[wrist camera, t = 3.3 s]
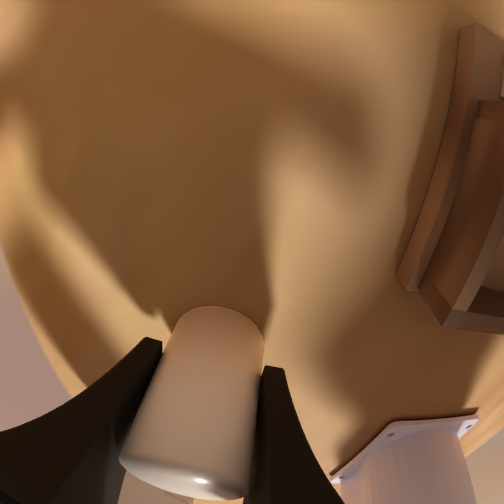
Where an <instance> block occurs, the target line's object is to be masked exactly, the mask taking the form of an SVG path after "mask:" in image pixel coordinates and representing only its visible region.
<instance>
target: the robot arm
mask: <svg viewBox="0 0 504 504" xmlns="http://www.w3.org/2000/svg"><path fill="white" fill-rule="evenodd" d="M161 356H162V341H159V340H155V339H152V338H149V337H145V338H143V339H142V340H141V341H140V342H139V343H138V344H137V345H136V346H135V347H134V348H133V349H132V350H131V351H130V352H129V353H128V354H127V355H126V356H125V357H124V358H123V359H122V360H121V361H119V362H118V363H117V364H116V365H115V366H114V367H113V368H111V369H110V370H109V371H108V372H107V373H106V374H105V375H103V376H102V377H101V378H100V379H98V380H97V381H96V382H94V383H93V384H92V385H91V386H89V387H88V388H87V389H85V390H84V391H83V392H81V393H80V394H78V395H77V396H75V397H74V398H72V399H71V400H69V401H68V402H66V403H64V404H63V405H61V406H59V407H57V408H56V409H54V410H52V411H50V412H48V413H47V414H45V415H43V416H41V417H39V418H36V419H34V420H32V421H29V422H27V423H24V424H22V425H20V426H17V427H14V428H11V429H8V430H5V431H1V432H0V504H118V500H119V496H120V491H121V488H122V484H123V480H124V477H125V473H126V469H125V468H124V467H123V466H122V465H121V463H120V462H119V455H120V452H121V450H122V447H123V445H124V443H125V440H126V438H127V435H128V433H129V430H130V428H131V425H132V423H133V421H134V418H135V416H136V414H137V411H138V409H139V406H140V404H141V402H142V399H143V397H144V395H145V392H146V390H147V388H148V386H149V383H150V381H151V379H152V376H153V374H154V372H155V370H156V367H157V365H158V363H159V361H160V358H161ZM478 420H479V417H478V415H468V416H461V417H452V418H443V419H431V420H415V421H396V422H393V423H391V424H389V425H388V426H387V427H386V428H385V429H384V430H383V431H382V432H381V433H380V434H379V435H378V436H377V437H376V438H375V439H374V440H373V441H372V442H371V443H370V444H369V445H368V446H367V447H366V448H364V449H363V450H362V451H361V452H360V453H359V454H358V455H357V456H356V457H355V458H353V459H352V460H351V461H350V462H349V463H348V464H346V465H345V466H344V467H343V468H342V469H341V470H339V471H338V472H337V473H336V474H334V475H333V476H332V477H331V478H330V482H331V483H341V497H342V499H341V497H340V496H339V495H338V493H337V492H336V490H335V489H334V488H333V486H332V485H331V483H330V482H329V480H328V478H327V477H326V475H325V474H324V472H323V470H322V468H321V467H320V465H319V463H318V461H317V459H316V458H315V456H314V454H313V452H312V450H311V447H310V445H309V443H308V441H307V439H306V436H305V434H304V432H303V429H302V427H301V424H300V421H299V419H298V416H297V413H296V411H295V408H294V405H293V402H292V398H291V395H290V392H289V388H288V384H287V380H286V376H285V371H284V370H283V368H278V367H272V366H267V365H265V367H264V370H263V373H262V376H261V382H260V392H259V402H258V413H257V422H256V431H255V440H254V449H253V458H252V467H251V475H250V484H249V492H248V494H247V495H246V496H244V500H243V504H477V503H476V498H475V494H474V490H473V486H472V482H471V478H470V474H469V471H468V467H467V464H466V460H465V457H464V454H463V450H462V447H461V444H460V441H459V438H460V437H461V436H463V435H464V434H465V433H466V432H467V431H468V430H469V429H470V428H471V427H472V426H473V425H474V424H475V423H476V422H477V421H478Z"/></svg>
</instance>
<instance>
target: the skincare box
mask: <svg viewBox="0 0 504 504" xmlns="http://www.w3.org/2000/svg"><path fill="white" fill-rule="evenodd" d="M193 499H194V498H193V497H188V496H183V495H179V494H176V493H172V492H169V491H166V490H163V489H161V488H158V487H156V486H153V485H151V484H149V483H147V482H145V481H143V480H141V479H139V478H138V477H136V476H134V475H133V474H131V473H130V472H129V471H127V470H126V473H125V477H124V480H123V484H122V488H121V491H120V496H119V500H118V504H193Z"/></svg>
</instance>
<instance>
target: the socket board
mask: <svg viewBox="0 0 504 504" xmlns="http://www.w3.org/2000/svg"><path fill="white" fill-rule="evenodd" d="M396 276H397V278H398V280H399V281H400V283H401V285H402V286H403V288H404V290H405V291H409V292H414V293H419V294H422V295H423V297H424V299H425V300H426V302H427V303H428V305H429V307H430V308H431V310H432V311H433V313H434V315H435V316H436V318H437V320H438V321H439V323H440V325H441V326H442V327H447V328H455V329H462V330H470V331H478V332H487V333H496V334H504V44H503V43H502V42H501V41H500V40H498V39H497V38H496V37H494V36H493V35H491V34H490V33H489V32H487V31H486V30H484V29H483V28H482V27H480V26H479V25H477V24H473V25H470V26H467V27H464V28H461V29H460V34H459V46H458V56H457V64H456V72H455V78H454V85H453V91H452V97H451V102H450V107H449V112H448V117H447V122H446V126H445V131H444V135H443V139H442V143H441V147H440V151H439V154H438V158H437V162H436V165H435V169H434V172H433V176H432V179H431V182H430V185H429V189H428V192H427V195H426V198H425V201H424V204H423V207H422V210H421V212H420V215H419V218H418V221H417V223H416V226H415V229H414V231H413V234H412V237H411V239H410V242H409V244H408V247H407V249H406V252H405V254H404V257H403V259H402V261H401V264H400V266H399V268H398V271H397V273H396Z"/></svg>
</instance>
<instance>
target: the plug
mask: <svg viewBox="0 0 504 504" xmlns="http://www.w3.org/2000/svg"><path fill="white" fill-rule="evenodd" d="M263 352H264V340H263V336H262V334H261V332H260V330H259V328H258V327H257V326H256V325H255V324H254V322H253V321H251V320H250V319H249V318H248V317H246V316H245V315H243V314H241V313H239V312H237V311H235V310H232V309H229V308H226V307H220V306H201V307H197V308H194V309H191V310H189V311H187V312H186V313H184V314H183V315H182V316H181V317H180V318H179V320H178V322H177V323H176V326H175V328H174V330H173V332H172V334H171V336H170V339H169V341H168V343H167V345H166V347H165V350H164V352H163V354H162V356H161V358H160V361H159V363H158V365H157V367H156V370H155V372H154V374H153V376H152V379H151V381H150V383H149V386H148V388H147V390H146V392H145V395H144V397H143V399H142V402H141V404H140V406H139V409H138V411H137V414H136V416H135V418H134V421H133V423H132V425H131V428H130V430H129V433H128V435H127V438H126V440H125V443H124V445H123V447H122V450H121V452H120V455H119V462H120V463H121V465H122V466H123V467H124V468H125V469H126V470H127V471H129V472H130V473H131V474H133V475H134V476H136V477H138V478H139V479H141V480H143V481H145V482H147V483H149V484H151V485H153V486H156V487H158V488H161V489H163V490H166V491H169V492H172V493H176V494H179V495H183V496H188V497H193V498H198V499H206V500H234V499H239V498H242V497H244V496H246V495H247V494H248V492H249V484H250V475H251V467H252V458H253V449H254V440H255V431H256V422H257V413H258V402H259V392H260V382H261V373H262V363H263Z"/></svg>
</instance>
